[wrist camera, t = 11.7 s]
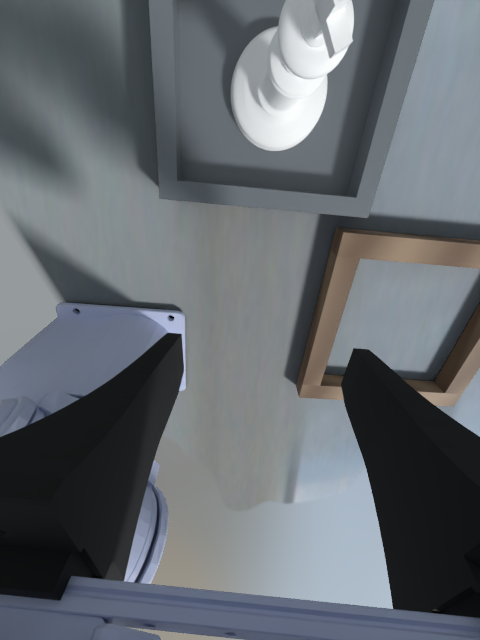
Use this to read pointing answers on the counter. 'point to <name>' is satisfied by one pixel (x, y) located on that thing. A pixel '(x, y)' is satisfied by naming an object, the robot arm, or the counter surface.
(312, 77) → the chess piece
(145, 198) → the counter surface
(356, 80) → the tray
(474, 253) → the brown square frame
